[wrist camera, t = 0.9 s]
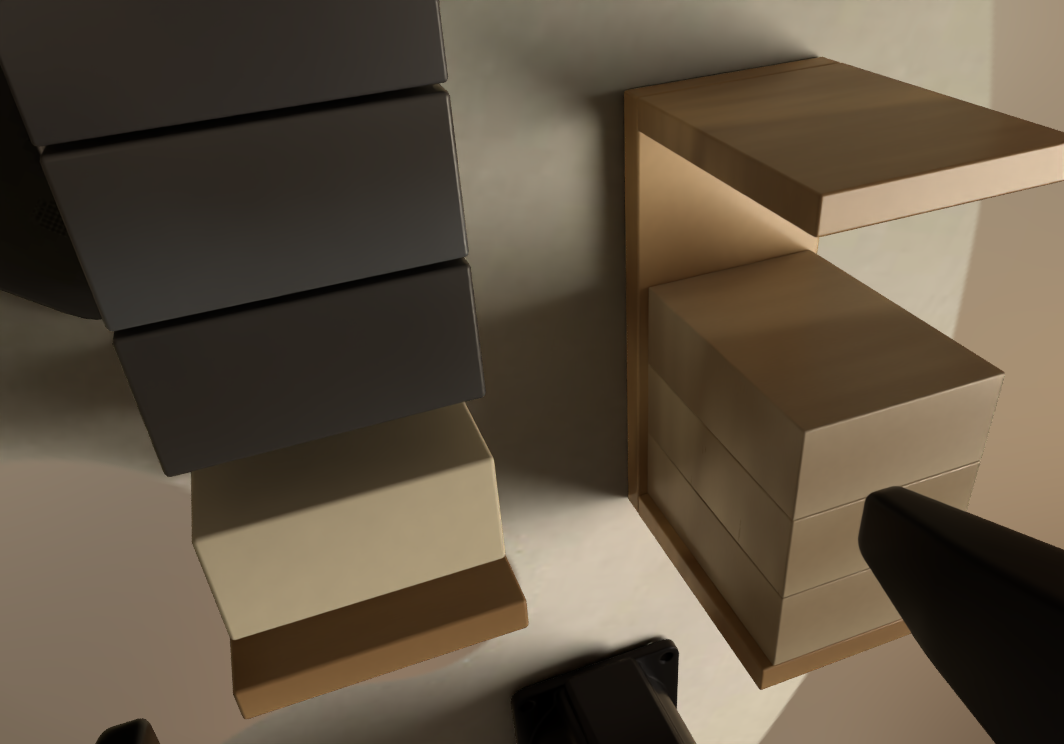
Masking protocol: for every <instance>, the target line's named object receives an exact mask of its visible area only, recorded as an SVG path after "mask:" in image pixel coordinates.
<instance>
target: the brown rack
mask: <svg viewBox="0 0 1064 744" xmlns="http://www.w3.org/2000/svg"><path fill="white" fill-rule="evenodd" d="M624 138H625V232H626V327H627V421H628V499H629V500H630V502H631V503H632V505H633V506H634V508H635V509H636V511H637V512H638V513H639V515H640V517H641V518H642V520H643V521H644V523H645V524H646V525H647V527H648V528H649V530H650V531H651V533H652V534H653V536H654V537H655V538H656V540H657V541H658V543H659V544H660V546H661V547H662V549H663V550H664V552H665V553H666V554H667V556H668V557H669V559H670V560H671V562H672V563H673V565H674V566H675V567H676V569H677V570H678V572H679V573H680V575H681V576H682V578H683V579H684V581H685V582H686V583H687V585H688V586H689V588H690V589H691V591H692V592H693V594H694V595H695V596H696V598H697V599H698V601H699V602H700V604H701V605H702V607H703V608H704V609H705V611H706V612H707V614H708V615H709V617H710V618H711V620H712V621H713V623H714V624H715V625H716V627H717V628H718V630H719V631H720V633H721V634H722V636H723V637H724V638H725V640H726V641H727V643H728V644H729V646H730V647H731V649H732V650H733V652H734V653H735V654H736V656H737V657H738V659H739V660H740V662H741V663H742V665H743V666H744V667H745V669H746V670H747V672H748V673H749V675H750V676H751V678H752V679H753V681H754V682H755V683H756V685H757V686H758V688H759V689H760V690H762V689H765V688H768V687H770V686H773V685H776V684H778V683H781V682H784V681H786V680H789V679H792V678H794V677H797V676H800V675H802V674H805V673H808V672H810V671H813V670H816V669H818V668H821V667H824V666H826V665H829V664H832V663H834V662H837V661H839V660H842V659H845V658H847V657H850V656H853V655H855V654H858V653H861V652H863V651H866V650H869V649H871V648H874V647H877V646H879V645H882V644H885V643H887V642H890V641H892V640H895V639H898V638H901V637H903V636H906V635H909V634H911V632H910V630H909V629H908V627H907V626H906V624H905V622H904V621H903V619H902V618H901V616H900V615H899V613H898V611H897V610H896V608H895V607H894V605H893V604H892V602H891V601H890V599H889V597H888V596H887V594H886V593H885V591H884V590H883V588H882V587H881V585H880V583H879V582H878V580H877V579H876V577H875V576H874V574H873V572H872V571H871V569H870V568H869V566H868V565H867V563H866V562H865V560H864V558H863V557H862V555H861V552H860V550H859V546H858V533H859V528H860V523H861V518H862V513H863V508H864V502H865V499H866V497H867V496H868V495H869V494H870V493H872V492H875V491H878V490H881V489H884V488H888V487H891V486H900V487H903V488H906V489H909V490H911V491H914V492H917V493H919V494H922V495H924V496H927V497H929V498H932V499H935V500H937V501H940V502H942V503H945V504H947V505H950V506H953V507H955V508H958V509H960V510H963V511H965V512H966V511H967V507H968V504H969V500H970V497H971V493H972V490H973V486H974V482H975V479H976V475H977V472H978V468H979V465H980V460H981V458H982V455H983V451H984V448H985V444H986V441H987V437H988V433H989V430H990V426H991V423H992V419H993V416H994V412H995V409H996V405H997V402H998V398H999V394H1000V391H1001V387H1002V384H1003V380H1004V377H1005V372H1003V371H1002V370H1000V369H999V368H997V367H995V366H994V365H992V364H991V363H989V362H987V361H986V360H984V359H983V358H981V357H980V356H978V355H976V354H975V353H973V352H971V351H970V350H968V349H967V348H965V347H964V346H962V345H961V344H959V343H957V342H956V341H954V340H953V339H951V338H949V337H948V336H946V335H945V334H943V333H941V332H940V331H938V330H937V329H935V328H934V327H932V326H930V325H929V324H927V323H926V322H924V321H922V320H921V319H919V318H918V317H916V316H914V315H913V314H911V313H910V312H908V311H906V310H905V309H903V308H902V307H900V306H899V305H897V304H895V303H894V302H892V301H891V300H889V299H887V298H886V297H884V296H883V295H881V294H879V293H878V292H876V291H875V290H873V289H871V288H870V287H868V286H867V285H865V284H864V283H862V282H860V281H859V280H857V279H856V278H854V277H852V276H851V275H849V274H848V273H846V272H844V271H843V270H841V269H840V268H838V267H836V266H835V265H833V264H832V263H830V262H829V261H827V260H825V259H824V258H822V257H821V256H819V255H817V250H818V242H819V237H822V236H827V235H831V234H835V233H840V232H844V231H848V230H853V229H857V228H861V227H866V226H870V225H874V224H879V223H883V222H887V221H892V220H896V219H900V218H905V217H909V216H913V215H918V214H922V213H926V212H931V211H935V210H939V209H944V208H948V207H952V206H957V205H961V204H965V203H970V202H974V201H978V200H983V199H987V198H992V197H996V196H1000V195H1004V194H1009V193H1013V192H1017V191H1022V190H1026V189H1030V188H1035V187H1039V186H1044V185H1048V184H1052V183H1056V182H1061V181H1064V132H1061V131H1058V130H1055V129H1052V128H1049V127H1045V126H1042V125H1039V124H1035V123H1033V122H1029V121H1026V120H1023V119H1020V118H1017V117H1014V116H1010V115H1007V114H1004V113H1001V112H998V111H994V110H991V109H988V108H985V107H982V106H978V105H975V104H972V103H969V102H966V101H962V100H959V99H956V98H953V97H950V96H946V95H943V94H940V93H937V92H934V91H931V90H927V89H924V88H921V87H918V86H915V85H911V84H908V83H905V82H902V81H899V80H895V79H892V78H889V77H886V76H883V75H879V74H876V73H873V72H870V71H867V70H863V69H860V68H857V67H854V66H851V65H847V64H844V63H840V62H837V61H834V60H831V59H827V58H824V57H818V58H812V59H806V60H800V61H794V62H788V63H782V64H777V65H771V66H765V67H759V68H753V69H747V70H741V71H735V72H729V73H723V74H718V75H712V76H706V77H700V78H694V79H688V80H682V81H676V82H670V83H664V84H659V85H653V86H647V87H641V88H635V89H629V90H626V91H624Z"/></svg>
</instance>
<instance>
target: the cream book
mask: <svg viewBox="0 0 1064 744" xmlns="http://www.w3.org/2000/svg"><path fill="white" fill-rule="evenodd" d="M191 501H192V502H191V504H192V544H193V547H194V549H195V552H196V554H197V556H198V559H199V562H200V564H201V567H202V569H203V571H204V574H205V577H206V579H207V581H208V584H209V586H210V589H211V591H212V594H213V597H214V599H215V602H216V604H217V607H218V609H219V612H220V614H221V617H222V619H223V622H224V624H225V627H226V629H227V632H228V634H229V636H230V638H231V639H232V640H237V639H240V638H243V637H247V636H250V635H253V634H256V633H260V632H263V631H266V630H269V629H273V628H276V627H279V626H282V625H286V624H289V623H292V622H296V621H299V620H302V619H305V618H309V617H312V616H315V615H318V614H322V613H325V612H328V611H331V610H335V609H338V608H341V607H345V606H348V605H351V604H354V603H358V602H361V601H364V600H367V599H371V598H374V597H377V596H380V595H384V594H387V593H390V592H394V591H397V590H400V589H403V588H407V587H410V586H413V585H416V584H420V583H423V582H426V581H429V580H433V579H436V578H439V577H443V576H446V575H449V574H452V573H456V572H459V571H462V570H465V569H469V568H472V567H475V566H478V565H482V564H485V563H488V562H492V561H495V560H498V559H501V558H503V557H504V556H505V546H504V538H503V530H502V522H501V514H500V505H499V497H498V489H497V481H496V472H495V464H494V458H493V457H492V455H491V453H490V451H489V449H488V447H487V445H486V443H485V441H484V439H483V437H482V435H481V433H480V431H479V429H478V427H477V425H476V423H475V421H474V419H473V417H472V416H471V414H470V412H469V410H468V408H467V406H466V404H465V402H462V403H458V404H454V405H450V406H446V407H442V408H438V409H434V410H431V411H427V412H423V413H419V414H415V415H411V416H407V417H403V418H399V419H395V420H391V421H387V422H384V423H380V424H376V425H372V426H368V427H364V428H360V429H356V430H352V431H348V432H344V433H340V434H337V435H333V436H329V437H325V438H321V439H317V440H313V441H309V442H305V443H301V444H297V445H293V446H290V447H286V448H282V449H278V450H274V451H270V452H266V453H262V454H258V455H254V456H250V457H247V458H243V459H239V460H235V461H231V462H227V463H223V464H219V465H215V466H211V467H207V468H203V469H200V470H196V471H192V472H191Z"/></svg>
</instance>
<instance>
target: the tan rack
mask: <svg viewBox="0 0 1064 744" xmlns="http://www.w3.org/2000/svg"><path fill="white" fill-rule="evenodd" d="M0 65H1V68H2V70H3V73H4V75H5V78H6V80H7V83H8V85H9V88H10V90H11V93H12V95H13V98H14V100H15V103H16V105H17V108H18V110H19V113H20V115H21V118H22V120H23V123H24V125H25V128H26V130H27V133H28V135H29V138H30V140H31V143H32V144H33V145H34V146H38V147H40V146H45V148H44V150H43V152H42V154H41V156H40V164H41V166H42V169H43V171H44V174H45V176H46V179H47V181H48V184H49V186H50V189H51V191H52V194H53V196H54V199H55V202H56V204H57V207H58V209H59V212H60V214H61V217H62V219H63V222H64V224H65V227H66V229H67V232H68V234H69V237H70V239H71V242H72V244H73V247H74V249H75V252H76V254H77V257H78V259H79V262H80V264H81V267H82V269H83V272H84V274H85V277H86V279H87V282H88V284H89V287H90V289H91V292H92V294H93V297H94V299H95V302H96V304H97V307H98V309H99V312H100V314H101V317H102V319H103V322H104V324H105V327H106V328H107V329H108V330H109V331H114V336H113V343H112V344H113V347H114V349H115V352H116V354H117V357H118V359H119V362H120V364H121V367H122V369H123V372H124V374H125V377H126V379H127V382H128V384H129V387H130V389H131V392H132V394H133V397H134V399H135V402H136V404H137V407H138V409H139V412H140V414H141V417H142V419H143V422H144V424H145V427H146V429H147V432H148V434H149V437H150V439H151V442H152V444H153V447H154V449H155V452H156V454H157V457H158V459H159V462H160V464H161V467H162V469H163V472H164V474H165V475H166V476H167V477H172V476H176V475H180V474H184V473H188V472H192V471H196V470H200V469H203V468H207V467H211V466H215V465H219V464H223V463H227V462H231V461H235V460H239V459H243V458H247V457H250V456H254V455H258V454H262V453H266V452H270V451H274V450H278V449H282V448H286V447H290V446H293V445H297V444H301V443H305V442H309V441H313V440H317V439H321V438H325V437H329V436H333V435H337V434H340V433H344V432H348V431H352V430H356V429H360V428H364V427H368V426H372V425H376V424H380V423H384V422H387V421H391V420H395V419H399V418H403V417H407V416H411V415H415V414H419V413H423V412H427V411H431V410H434V409H438V408H442V407H446V406H450V405H454V404H458V403H462V402H466V401H470V400H474V399H477V398H481V397H484V396H485V393H486V389H485V381H484V373H483V364H482V356H481V348H480V340H479V331H478V323H477V315H476V307H475V299H474V290H473V282H472V274H471V267H470V265H469V263H468V262H467V261H466V259H465V258H464V257H466V256H467V255H468V252H469V249H468V241H467V232H466V224H465V216H464V208H463V200H462V191H461V183H460V175H459V167H458V158H457V150H456V142H455V134H454V125H453V117H452V109H451V101H450V95H449V93H448V91H447V90H445V89H444V88H443V87H442V86H441V85H440V84H439V83H444V82H446V81H447V79H448V73H447V65H446V57H445V48H444V40H443V32H442V24H441V15H440V7H439V0H0ZM527 626H528V613H527V603H526V599H525V597H524V594H523V592H522V590H521V588H520V586H519V584H518V581H517V579H516V577H515V575H514V573H513V570H512V568H511V566H510V564H509V562H508V560H507V557H506V555H505V556H504V557H503V558H501V559H498V560H495V561H492V562H488V563H485V564H482V565H478V566H475V567H472V568H469V569H465V570H462V571H459V572H456V573H452V574H449V575H446V576H443V577H439V578H436V579H433V580H429V581H426V582H423V583H420V584H416V585H413V586H410V587H407V588H403V589H400V590H397V591H394V592H390V593H387V594H384V595H380V596H377V597H374V598H371V599H367V600H364V601H361V602H358V603H354V604H351V605H348V606H345V607H341V608H338V609H335V610H331V611H328V612H325V613H322V614H318V615H315V616H312V617H309V618H305V619H302V620H299V621H296V622H292V623H289V624H286V625H282V626H279V627H276V628H273V629H269V630H266V631H263V632H260V633H256V634H253V635H250V636H247V637H243V638H240V639H237V640H232V639H231V638H230V647H231V665H232V681H233V695H234V697H235V700H236V702H237V705H238V707H239V709H240V712H241V714H242V716H243V718H244V719H250V718H253V717H256V716H259V715H262V714H265V713H268V712H271V711H274V710H277V709H280V708H283V707H286V706H289V705H292V704H295V703H298V702H301V701H304V700H307V699H310V698H313V697H316V696H319V695H322V694H326V693H329V692H332V691H335V690H338V689H341V688H344V687H347V686H350V685H353V684H356V683H359V682H362V681H365V680H368V679H371V678H374V677H377V676H380V675H383V674H386V673H389V672H392V671H395V670H398V669H401V668H404V667H407V666H410V665H413V664H417V663H419V662H423V661H425V660H429V659H432V658H435V657H438V656H441V655H444V654H447V653H450V652H453V651H456V650H459V649H462V648H465V647H468V646H471V645H474V644H477V643H480V642H483V641H486V640H489V639H492V638H495V637H498V636H501V635H505V634H508V633H511V632H514V631H517V630H520V629H523V628H526V627H527Z"/></svg>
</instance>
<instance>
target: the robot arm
mask: <svg viewBox="0 0 1064 744" xmlns="http://www.w3.org/2000/svg"><path fill="white" fill-rule="evenodd" d="M858 546H859V550H860V552H861V555H862V557H863V558H864V560H865V562H866V563H867V565H868V566H869V568H870V569H871V571H872V572H873V574H874V576H875V577H876V579H877V580H878V582H879V583H880V585H881V587H882V588H883V590H884V591H885V593H886V594H887V596H888V597H889V599H890V601H891V602H892V604H893V605H894V607H895V608H896V610H897V611H898V613H899V615H900V616H901V618H902V619H903V621H904V622H905V624H906V626H907V627H908V629H909V630H910V632H911V633H912V635H913V636H914V638H915V639H916V641H917V642H918V644H919V645H920V647H921V648H922V649H923V651H924V652H925V654H926V655H927V657H928V658H929V659H930V661H931V662H932V663H933V665H934V666H935V667H936V669H937V670H938V671H939V673H940V674H941V675H942V676H943V678H944V679H945V680H946V681H947V683H949V685H950V686H951V688H952V689H953V690H954V692H955V693H956V694H957V695H958V697H959V698H960V699H961V700H962V702H963V703H964V704H965V705H966V707H967V708H968V709H969V710H970V712H971V713H972V714H973V716H974V717H975V718H976V719H977V721H978V722H979V723H980V725H981V726H982V727H983V728H984V730H985V731H986V732H987V733H988V735H989V736H990V737H991V738H992V740H993V741H994V742H995V744H1064V550H1063V549H1061V548H1058V547H1055V546H1053V545H1050V544H1048V543H1045V542H1043V541H1040V540H1037V539H1035V538H1032V537H1029V536H1027V535H1025V534H1022V533H1019V532H1016V531H1014V530H1011V529H1009V528H1007V527H1004V526H1001V525H998V524H996V523H994V522H991V521H988V520H986V519H983V518H981V517H978V516H976V515H973V514H970V513H968V512H965V511H963V510H960V509H958V508H955V507H953V506H950V505H947V504H945V503H942V502H940V501H937V500H935V499H932V498H929V497H927V496H924V495H922V494H919V493H917V492H914V491H911V490H909V489H906V488H903V487H900V486H891V487H888V488H884V489H881V490H878V491H875V492H872V493H870V494H869V495H868V496H867V497H866V499H865V502H864V508H863V513H862V518H861V523H860V528H859V533H858ZM678 660H679V652H678V649H677V647H676V646H675V644H674V643H673V641H671V640H669V639H665V640H661V641H658V642H655V643H652V644H649V645H646V646H644V647H641V648H638V649H635V650H632V651H629V652H626V653H623V654H621V655H618V656H615V657H612V658H609V659H606V660H603V661H601V662H598V663H595V664H592V665H589V666H586V667H583V668H580V669H578V670H575V671H572V672H569V673H566V674H563V675H560V676H557V677H555V678H552V679H549V680H546V681H543V682H540V683H537V684H534V685H532V686H529V687H526V688H523V689H521V690H519V691H517V692H516V693H515V694H514V695H513V696H512V698H511V709H512V717H513V724H514V732H515V739H516V744H696V742H695V741H694V739H693V737H692V735H691V734H690V732H689V730H688V728H687V727H686V725H685V723H684V721H683V720H682V718H681V716H680V715H679V713H678V711H677V686H678ZM96 744H160V743H159V741H158V739H157V737H156V734H155V732H154V730H153V728H152V726H151V725H150V723H149V722H148V721H147V720H146V719H143V718H142V719H136V720H133V721H129V722H126V723H123V724H120V725H116V726H113V727H110V728H108V729H106V730H105V731H104V732H103V733H102V734H101V735H100V737H99V738H98V740H97V742H96Z"/></svg>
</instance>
